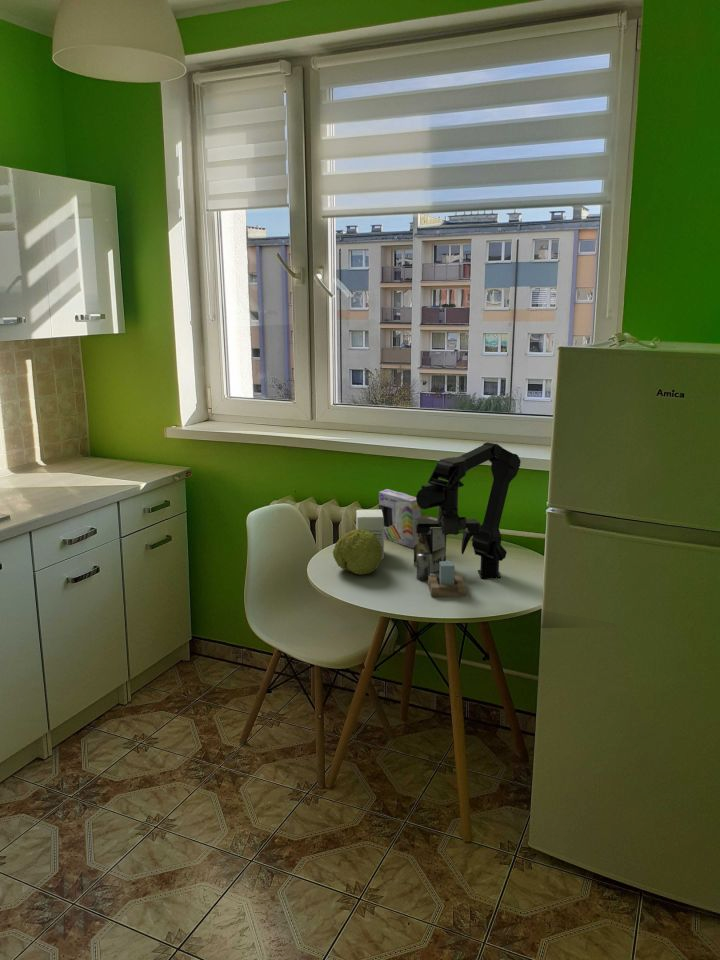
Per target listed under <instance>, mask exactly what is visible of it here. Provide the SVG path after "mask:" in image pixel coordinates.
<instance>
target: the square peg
mask: <svg viewBox="0 0 720 960" xmlns="http://www.w3.org/2000/svg"><path fill="white" fill-rule="evenodd" d="M455 567H456V566H455V564H454V561H452V560H451V561H449V560H448V561H447V560H446V561H440V569H439V571H438V572H439V574H438V575H439V585H452V584H454V576H455V575H456V574H455V571H456V570H455Z"/></svg>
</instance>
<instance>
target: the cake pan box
mask: <svg viewBox="0 0 720 960" xmlns="http://www.w3.org/2000/svg"><path fill="white" fill-rule="evenodd" d="M378 504H379V505H378V509H377V510H380V509H381V510H382V513H383V517H384V539H385V540H387V541H391V542H393V543H397V544H400V545H403V546H406V547H407V548H412V549H414V519H416V518H419V517H422V508H420V507H419V505H418V504H417V501H416V496H413V495H409V494H407V493H405V492H401V491H400V492H398V491H395V490H392V489H388V488H386V489H384V490H380V491H378Z"/></svg>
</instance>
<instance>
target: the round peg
mask: <svg viewBox="0 0 720 960" xmlns="http://www.w3.org/2000/svg"><path fill="white" fill-rule="evenodd" d="M428 575H431V572H430V553H428V552H419V553H417V567H416V580H417V581H422V582H426V581H427V582H428Z"/></svg>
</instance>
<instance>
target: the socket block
mask: <svg viewBox="0 0 720 960" xmlns="http://www.w3.org/2000/svg"><path fill="white" fill-rule="evenodd" d="M427 585H428V589H429V592H430V597H431V598H464V597H466V596H467V595H466V594H467V593H466V592H467V586H466V583H465V582H464V579H463V577H462V575H461V574H455V576H454V584H452V585H439V574H430V575H428V581H427Z"/></svg>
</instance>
